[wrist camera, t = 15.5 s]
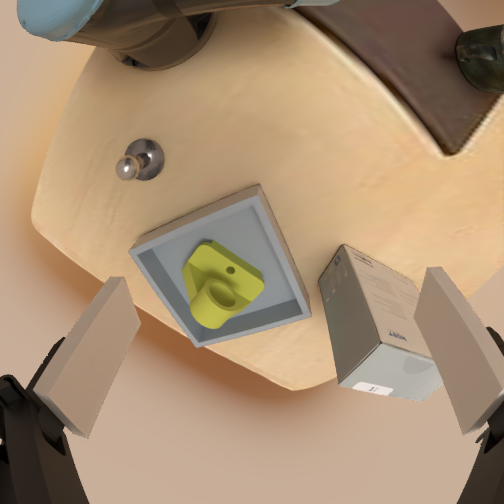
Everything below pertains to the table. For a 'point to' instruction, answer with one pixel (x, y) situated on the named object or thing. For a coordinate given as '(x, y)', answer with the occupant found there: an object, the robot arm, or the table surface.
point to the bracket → (219, 284)
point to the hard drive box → (376, 329)
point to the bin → (241, 244)
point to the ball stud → (141, 161)
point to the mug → (483, 57)
